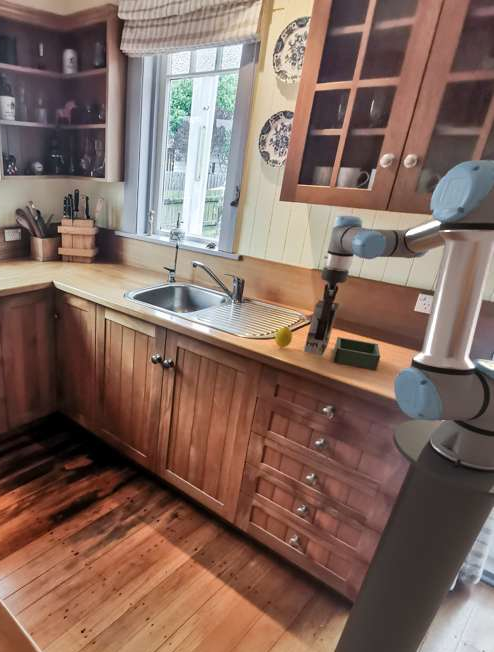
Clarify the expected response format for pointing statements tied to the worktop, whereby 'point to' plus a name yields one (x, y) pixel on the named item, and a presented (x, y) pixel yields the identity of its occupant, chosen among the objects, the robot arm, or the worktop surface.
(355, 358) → the box
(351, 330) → the worktop surface
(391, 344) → the worktop surface
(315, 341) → the coffee box
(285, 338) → the lemon
